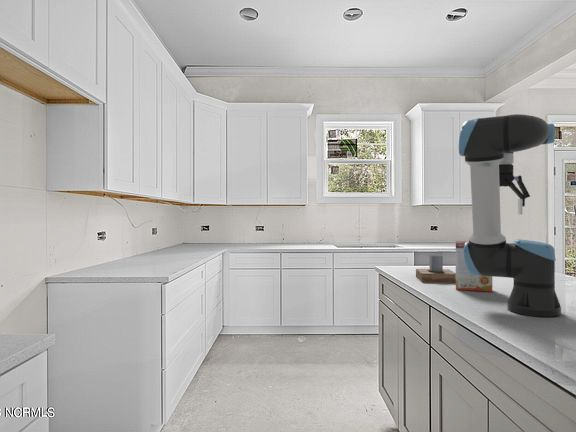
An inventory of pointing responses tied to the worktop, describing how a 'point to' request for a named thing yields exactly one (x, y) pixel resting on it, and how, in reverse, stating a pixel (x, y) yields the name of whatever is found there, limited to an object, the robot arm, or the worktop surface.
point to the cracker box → (465, 277)
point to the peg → (436, 263)
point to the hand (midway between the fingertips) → (503, 214)
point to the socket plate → (436, 276)
